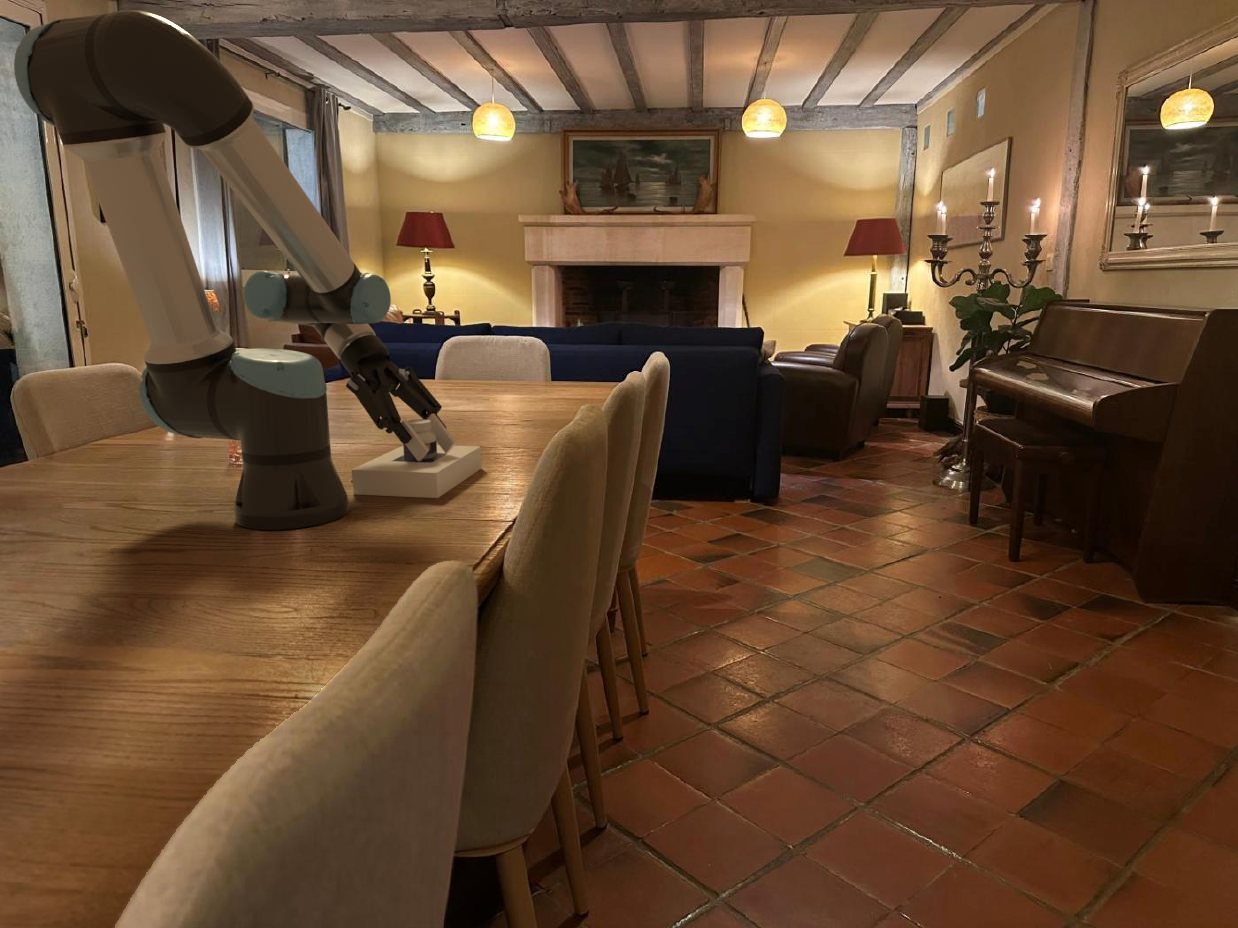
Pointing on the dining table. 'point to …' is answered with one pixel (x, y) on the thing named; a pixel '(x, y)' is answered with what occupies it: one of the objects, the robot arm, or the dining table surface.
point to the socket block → (416, 473)
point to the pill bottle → (427, 437)
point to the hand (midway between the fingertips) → (437, 451)
